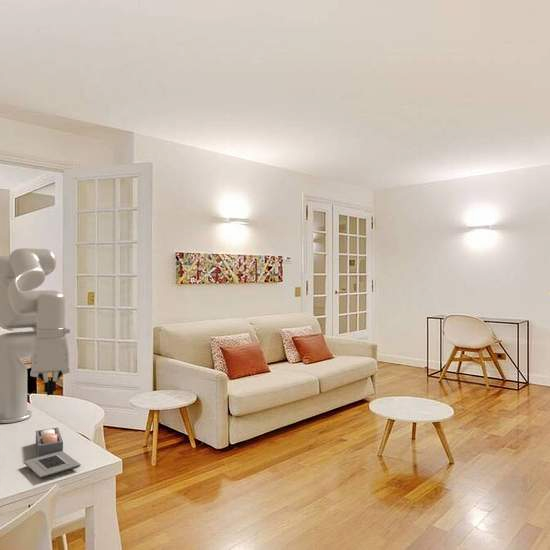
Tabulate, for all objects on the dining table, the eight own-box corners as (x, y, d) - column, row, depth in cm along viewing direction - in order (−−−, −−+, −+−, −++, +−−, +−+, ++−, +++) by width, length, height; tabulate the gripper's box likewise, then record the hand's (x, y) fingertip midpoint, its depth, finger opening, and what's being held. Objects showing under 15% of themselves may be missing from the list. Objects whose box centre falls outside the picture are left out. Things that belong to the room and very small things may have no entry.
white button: (40, 443, 145) (40, 430, 144) (54, 440, 147) (54, 428, 147) (41, 447, 141) (41, 434, 141) (55, 445, 143) (55, 432, 143)
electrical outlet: (80, 471, 126) (80, 463, 126) (40, 484, 119) (40, 475, 119) (62, 457, 136) (62, 449, 136) (23, 468, 128) (23, 460, 128)
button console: (35, 443, 145) (35, 430, 145) (57, 439, 149) (57, 427, 148) (38, 459, 133) (38, 445, 133) (62, 455, 137) (62, 441, 136)
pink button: (42, 447, 139) (42, 434, 138) (56, 445, 141) (56, 432, 141) (43, 452, 135) (43, 439, 135) (57, 449, 137) (58, 436, 137)
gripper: (75, 330, 144) (74, 388, 145) (21, 333, 137) (21, 393, 137) (79, 334, 138) (78, 394, 139) (22, 337, 130) (22, 400, 131)
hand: (49, 393), depth 138 cm, fingers closed
